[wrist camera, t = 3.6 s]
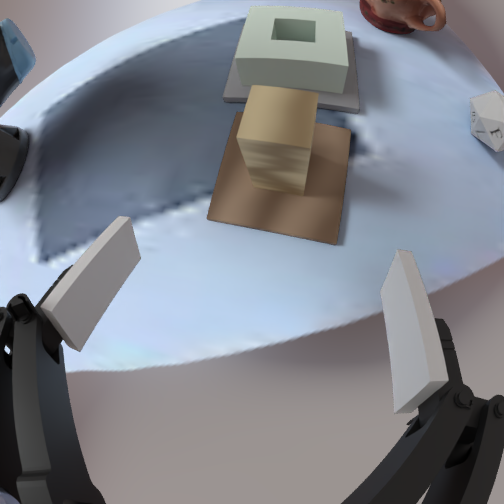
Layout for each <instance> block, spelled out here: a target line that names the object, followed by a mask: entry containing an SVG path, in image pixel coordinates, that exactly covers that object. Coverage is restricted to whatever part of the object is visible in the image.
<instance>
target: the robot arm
mask: <svg viewBox="0 0 504 504" xmlns="http://www.w3.org/2000/svg"><path fill="white" fill-rule="evenodd" d="M35 61H36V58H35V54H34V52H33V50H32V48H31V46H30V45H29V43H28V42H27V40H26V38H25V37H24V35H23V34H22V33H21V31H20V30H19V28H18V27H17V26H16V25H15V23H14V22H13V21H11V20H10V19H8V18H6V19H5V20H3V21H2V22H0V107H1V106H2V104H3V103H4V102H5V101H6V100H7V98H8V97H9V96H10V95H11V93H12V92H13V91H14V90H15V89H16V88H17V87H18V85H19V84H21V83H22V81H23V79H24V78H25V77H26V76H27V74H28V73H29V72H30V71H31V70H32V69H33V67H34V65H35ZM28 143H29V139H28V134H27V132H25V131H24V130H22V129H21V128H19V127H16V126H8V125H0V201H2V200H3V199H4V198H5V197H6V196H7V195H8V193H9V192H10V191H11V189H12V188H13V186H14V184H15V182H16V180H17V178H18V176H19V174H20V172H21V169H22V167H23V164H24V161H25V158H26V155H27V150H28ZM140 259H141V256H140V253H139V249H138V246H137V242H136V238H135V235H134V231H133V227H132V223H131V219H130V217H122V216H118V217H117V218H116V219H115V220H114V221H113V222H112V224H111V225H110V226H109V227H108V228H107V229H106V230H105V231H104V232H103V233H102V234H101V235H100V236H99V237H98V238H97V239H96V240H95V241H94V242H93V244H92V245H91V246H90V247H89V248H88V249H87V250H86V251H85V252H84V254H83V255H82V256H81V257H80V258H79V259H78V260H77V262H76V263H75V264H74V265H71V266H70V267H69V268H67V269H66V270H64V271H63V272H62V274H61V275H60V276H59V277H58V280H56V281H55V282H54V283H53V286H51V287H50V288H49V290H48V291H47V292H46V293H45V295H44V296H43V297H42V299H41V300H40V301H39V303H38V304H37V305H36V306H35V307H34V306H33V304H32V303H31V301H30V300H29V298H28V297H27V295H26V294H23V293H22V294H18V295H16V296H14V297H13V298H12V299H11V300H10V301H9V303H8V304H7V307H6V308H5V307H0V504H106V503H105V501H104V498H103V496H102V494H101V493H100V491H99V490H98V489H97V488H96V487H95V486H94V485H93V484H92V482H91V480H90V477H89V474H88V471H87V468H86V465H85V462H84V458H83V455H82V452H81V448H80V444H79V440H78V437H77V433H76V428H75V424H74V420H73V415H72V410H71V405H70V399H69V393H68V387H67V380H66V373H65V364H64V355H63V347H62V345H61V344H60V343H61V342H62V340H64V341H65V343H66V344H67V345H68V346H69V347H70V348H72V349H75V350H77V351H79V352H80V351H81V350H82V348H83V346H84V345H85V343H86V341H87V340H88V338H89V336H90V335H91V333H92V331H93V330H94V328H95V326H96V325H97V323H98V322H99V320H100V319H101V317H102V315H103V314H104V312H105V311H106V309H107V308H108V306H109V305H110V303H111V301H112V300H113V298H114V297H115V295H116V294H117V292H118V291H119V290H120V288H121V287H122V285H123V284H124V282H125V281H126V279H127V278H128V276H129V275H130V274H131V272H132V271H133V269H134V268H135V266H136V265H137V264H138V262H139V261H140ZM380 294H381V300H382V305H383V311H384V317H385V324H386V331H387V338H388V346H389V354H390V363H391V374H392V385H393V400H394V413H411V412H412V411H414V410H415V409H416V408H417V407H418V411H419V415H417V416H416V417H415V418H413V419H412V420H410V421H409V422H408V423H407V425H410V424H411V425H410V426H409V427H408V429H407V430H406V432H405V433H404V434H403V436H402V437H401V438H400V440H399V441H398V442H397V443H396V445H395V446H394V447H393V448H392V450H391V451H390V452H389V453H388V455H387V456H386V457H385V458H384V459H383V461H382V462H381V463H380V464H379V465H378V466H377V467H376V469H375V470H374V471H373V472H372V473H371V474H370V475H369V476H368V478H367V479H365V481H364V482H363V483H362V484H361V485H360V486H359V487H358V488H357V489H356V490H355V491H354V492H353V493H352V494H351V495H350V496H349V497H348V498H346V499H345V500H344V501H343V502H342V503H341V504H416V503H417V502H418V501H419V499H420V498H421V497H422V495H423V494H424V493H425V491H426V490H427V489H428V487H429V486H430V487H429V490H428V492H427V494H426V496H425V498H424V500H423V502H422V504H487V502H488V499H489V496H490V494H491V491H492V488H493V485H494V482H495V479H496V475H497V472H498V469H499V465H500V461H501V457H502V453H503V449H504V397H503V396H502V395H496V396H494V397H493V398H491V399H490V400H484V399H481V398H478V397H475V396H474V395H473V392H472V390H471V389H470V388H469V387H468V386H466V385H464V384H463V381H462V377H461V373H460V368H459V364H458V359H457V355H456V351H455V350H454V349H455V347H454V343H453V342H452V336H451V333H450V329H449V327H448V326H447V324H446V323H445V321H444V320H443V319H436V318H434V316H433V313H432V309H431V306H430V303H429V300H428V296H427V293H426V290H425V287H424V284H423V281H422V279H421V276H420V273H419V270H418V267H417V265H416V262H415V260H414V257H413V254H412V252H411V251H405V250H399V249H397V251H396V254H395V257H394V259H393V262H392V264H391V267H390V269H389V272H388V274H387V277H386V279H385V281H384V284H383V286H382V288H381V291H380ZM5 345H6V346H7V347H8V348H9V349H10V353H9V354H8V353H7V352H6V351H5V350H4V349H5ZM430 484H431V485H430Z"/></svg>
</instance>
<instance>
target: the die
mask: <svg viewBox="0 0 504 504" xmlns="http://www.w3.org/2000/svg"><path fill="white" fill-rule="evenodd" d="M470 110H471V134H472V135H474V136H475V137H477V138H478V139H480V140H481V141H482V142H484V143H485V144H486V145H488V146H489V147H491V148H492V149H493V150H494V151H496V152H499V151H503V150H504V96H503V95H501V94H500V93H498V92H497V91H496V90H494V91H491V92H488V93H485V94H482V95H479V96H476V97H473V98H470Z"/></svg>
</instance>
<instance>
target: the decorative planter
mask: <svg viewBox="0 0 504 504" xmlns="http://www.w3.org/2000/svg"><path fill="white" fill-rule="evenodd" d="M360 10H361V13H362V15H363V16H364V17H365V19H366V20H367V21H368V22H370V23H371V24H372V25H373V26H375V27H377V28H379V29H381V30H383V31H387V32H391V33H397V34H408V33H411V32H413V31H414V30H415V29H417V30H421V31H439V30H441V29H442V28H443V27H444V26H445V24H446V13H445V9H444V7H443V5H442V3H441V0H360ZM434 15H436V21H435V24H434V25H433V26H426V25H425V24H424V23H423V21H424V20H425V19H426V18H428V17H430V16H434Z"/></svg>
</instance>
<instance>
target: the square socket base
mask: <svg viewBox="0 0 504 504" xmlns="http://www.w3.org/2000/svg"><path fill="white" fill-rule="evenodd" d="M252 85H262V86H272V87H281V88H289V89H296V90H303V91H309V92H315V93H319V95H318V104H317V108H323V109H330V110H337V111H344V112H350V113H355V114H358V112H359V95H358V82H357V71H356V62H355V54H354V46H353V39H352V32H348V31H345V28H344V21H343V14H342V12H339V11H332V10H324V9H316V8H305V7H290V6H251V7H250V10H249V13H248V16H247V19H246V22H245V24H244V25H243V28H242V32H241V35H240V38H239V41H238V44H237V48H236V51H235V55H234V58H233V61H232V65H231V68H230V72H229V76H228V79H227V83H226V87H225V90H224V94H223V100H224V102H247V100H248V97H249V93H250V90H251V87H252Z"/></svg>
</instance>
